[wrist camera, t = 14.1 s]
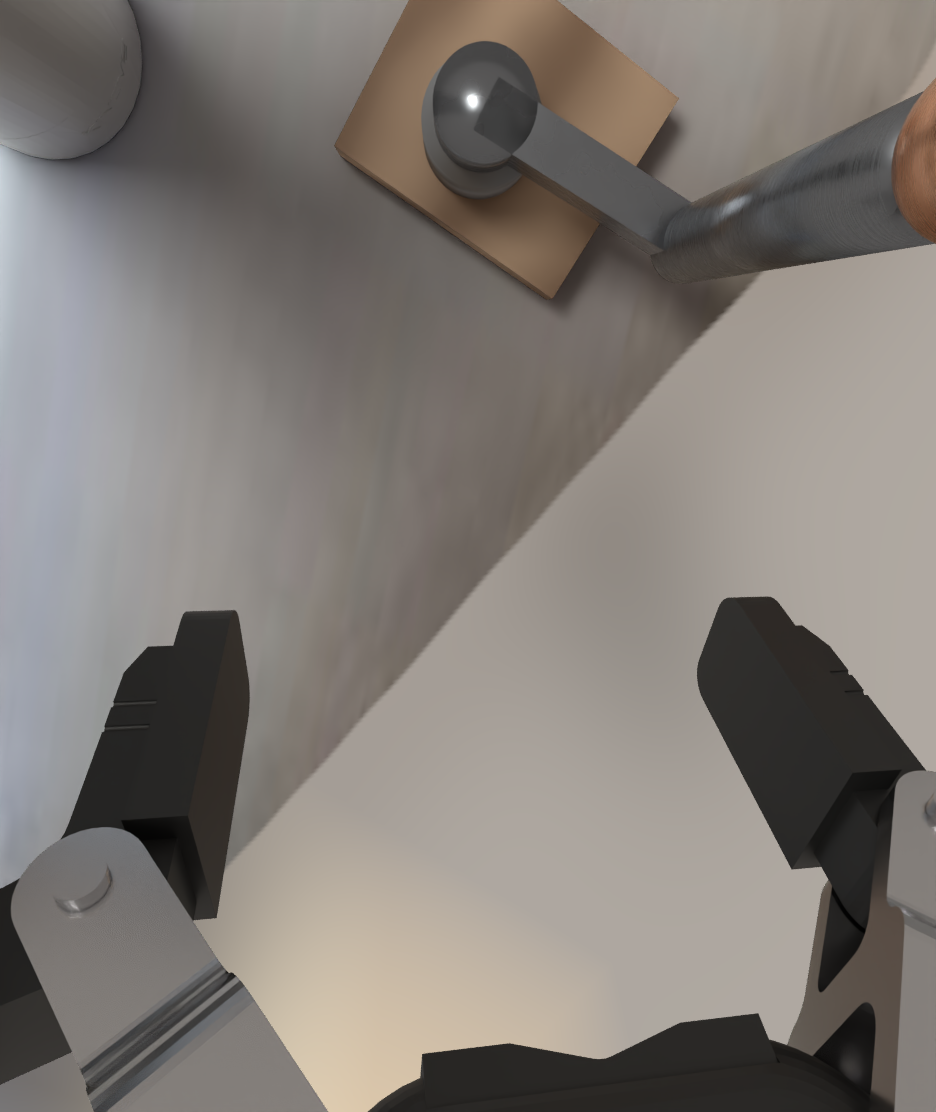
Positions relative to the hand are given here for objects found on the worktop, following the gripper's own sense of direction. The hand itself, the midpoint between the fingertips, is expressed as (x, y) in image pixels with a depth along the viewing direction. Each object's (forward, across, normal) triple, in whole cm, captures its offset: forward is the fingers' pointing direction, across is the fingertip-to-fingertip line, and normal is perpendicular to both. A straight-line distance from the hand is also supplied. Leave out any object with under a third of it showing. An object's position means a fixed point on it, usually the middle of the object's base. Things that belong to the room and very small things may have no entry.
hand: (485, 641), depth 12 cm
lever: (+24, -7, -4) cm, 25 cm away
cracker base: (+30, -5, -5) cm, 31 cm away
